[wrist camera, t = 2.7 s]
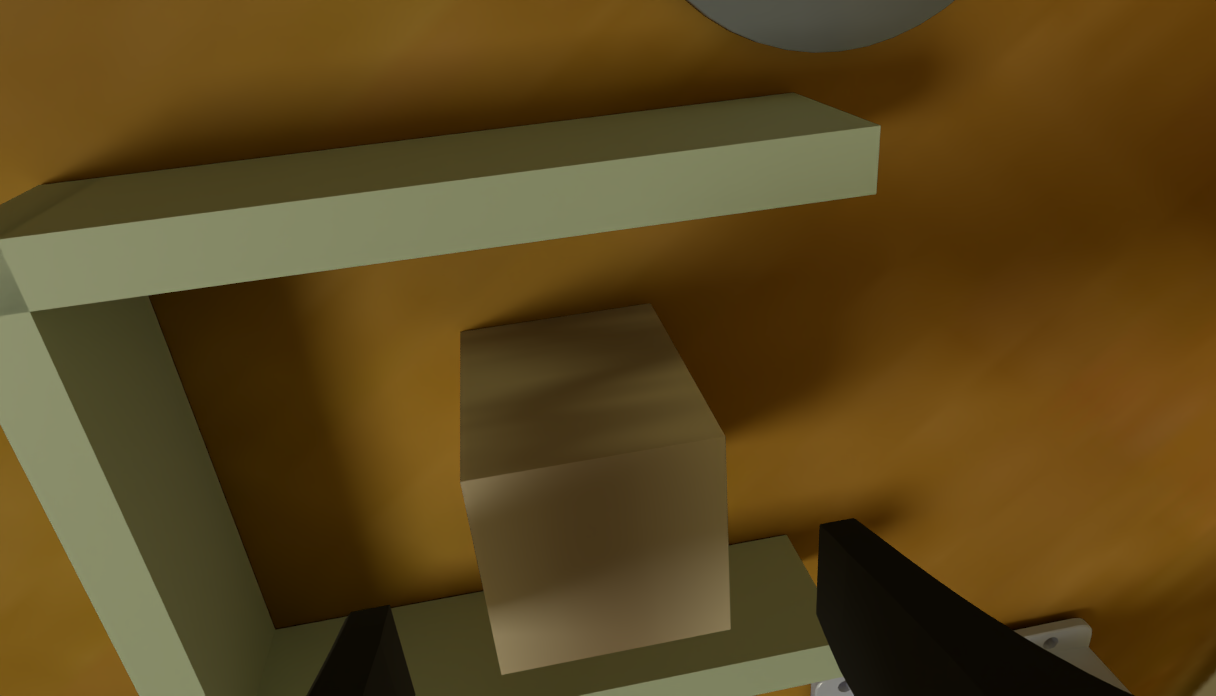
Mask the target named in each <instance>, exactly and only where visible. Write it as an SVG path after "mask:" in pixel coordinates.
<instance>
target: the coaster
mask: <svg viewBox="0 0 1216 696" xmlns="http://www.w3.org/2000/svg"><path fill="white" fill-rule="evenodd" d="M686 1H687V2H688V3H689V4H690V5H692V6H693V7H694V8H695V9H696V10H698V11H699V12H700V13H701V14H702V15H704V16H705V17H707V18H708V19H710V20H711V21H713V22H715V23H716V24H718V25H720V26H721V27H723V28H724V29H726V30H728V31H730V32H732V33H735V34H737V35H739V36H742V37H744V38H746V39H749V40H751V41H754V42H758V43H762V44H766V45H770V46H774V47H777V48H781V49H785V50H793V51H803V52H813V53H814V52H837V51H845V50H850V49H855V48H860V47H866V46H869V45H872V44H875V43H878V42H881V41H884V40H887V39H890V38H893V37H895V36H897V35H899V34H901V33H903V32H906V31H908V30H910V29H912V28H914V27H916V26H918V25H920V24H921V23H923V22H924V21H926V20H928V19H929V18H931V17H932V16H934V15H935V14H937V13H938V12H940V11H941V10H943V9H944V8H946V7H947V6H948V5H949V4H951V3H952V2H953V1H954V0H686Z"/></svg>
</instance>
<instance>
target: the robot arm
mask: <svg viewBox="0 0 1216 696" xmlns="http://www.w3.org/2000/svg"><path fill="white" fill-rule="evenodd" d="M816 615H817V617H818V620H819V622H820V625H821V627H822V630H823V632H824V635H825V637H826V639H827V642H828V644H829V647H830V649H831V651H832V654H833V656H834V658H835V660H836V663H837V665H838V667H839V670H840V671H841V673H842V675H843V677H840V678H835V679H830V680H825V681H821V682H816V683H811V696H1134V695H1132V694H1131V692H1130V691H1129V690H1128V689H1127V688H1126V687H1125V686H1124V685H1123V684H1122V683H1121V682H1120V681H1119V679H1118V678H1117V677H1116V676H1115V675H1114V674H1113V673H1112V672H1111V671H1110V670H1109V669H1108V667H1107V666H1106V665H1105V664H1104V663H1103V662H1102V661H1101V660H1100V659H1099V658H1098V657H1097V656H1096V654H1095V653H1094V652H1093V651H1092V650H1091V649H1090V648H1088V647H1089V643H1090V639H1091V636H1092V628H1091V627H1090V626H1089V625H1088V624H1087V623H1086V622H1085V620H1084V619H1081V618H1071V619H1066V620H1062V621H1057V622H1052V623H1047V624H1042V625H1037V626H1033V627H1028V628H1023V629H1018V630H1012V629H1010V628H1008V627H1007V626H1005V625H1004V624H1002V623H1001V622H999V621H997V620H996V619H994V618H993V617H991V616H989V615H988V614H986V613H985V612H983V611H982V610H980V609H979V608H977V607H976V606H974V605H973V604H971V603H970V602H968V601H967V600H965V599H964V598H962V597H961V596H959V595H958V594H956V593H955V592H954V591H952V590H951V589H949V588H948V587H946V586H945V585H944V584H942V583H941V582H939V581H938V580H937V579H935V578H934V577H932V576H931V575H930V574H928V573H927V572H925V571H924V570H923V569H921V568H920V567H919V566H917V565H916V564H915V563H913V562H912V561H911V560H909V559H908V558H907V557H905V556H904V555H902V554H901V553H900V552H898V551H897V550H896V549H895V548H893V547H892V546H891V545H889V544H888V543H887V542H885V541H884V540H883V539H881V538H880V537H879V536H877V535H876V534H875V533H873V532H872V531H871V530H869V529H868V528H867V527H865V526H864V525H863V524H861V523H860V522H859V521H857V520H856V519H854V518H852V519H846V520H841V521H836V522H830V523H825V524H820V530H819V554H818V578H817V603H816ZM306 696H415V691H414V687H413V684H412V680H411V677H410V673H409V670H408V667H407V663H406V660H405V656H404V653H403V649H402V646H401V642H400V639H399V635H398V632H397V628H396V625H395V621H394V618H393V614H392V611H391V607H390V605H387V606H381V607H376V608H371V609H365V610H360V611H355V612H351V613H350V614H349V615H348V617H347V618H346V619H345V621H344V623H343V625H342V627H341V629H340V631H339V634H338V636H337V638H336V640H335V642H334V644H333V646H332V648H331V650H330V652H329V654H328V656H327V658H326V659H325V661H324V663H323V665H322V667H321V669H320V671H319V673H318V675H317V677H316V678H315V680H314V682H313V684H312V686H311V688H310V690H309V691H308V693H307V695H306Z"/></svg>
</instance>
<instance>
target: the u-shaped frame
mask: <svg viewBox="0 0 1216 696" xmlns="http://www.w3.org/2000/svg"><path fill="white" fill-rule="evenodd" d="M880 128H881V126H880V125H878V124H875V123H873V122H870V121H867V120H865V119H862V118H859V117H857V116H854V115H852V114H849V113H846V112H844V111H841V110H838V109H836V108H833V107H831V106H828V105H825V104H823V103H820V102H817V101H815V100H812V99H810V98H807V97H804V96H802V95H799V94H796V93H794V92H793V93H785V94H777V95H768V96H760V97H752V98H744V99H736V100H728V101H720V102H711V103H703V104H695V105H687V106H679V107H671V108H663V109H655V110H646V111H638V112H630V113H622V114H614V115H606V116H598V117H589V118H581V119H573V120H565V121H557V122H549V123H541V124H532V125H524V126H516V127H508V128H500V129H492V130H484V131H475V132H467V133H459V134H451V135H443V136H435V137H427V138H418V139H410V140H402V141H394V142H386V143H378V144H370V145H362V146H353V147H345V148H337V149H329V150H321V151H313V152H305V153H296V154H288V155H280V156H272V157H264V158H256V159H248V160H239V161H231V162H223V163H215V164H207V165H199V166H191V167H182V168H174V169H166V170H158V171H150V172H142V173H134V174H126V175H117V176H109V177H101V178H93V179H85V180H77V181H69V182H60V183H52V184H44V185H38V186H36V187H34V188H32V189H30V190H28V191H26V192H24V193H22V194H21V195H19V196H17V197H15V198H13V199H11V200H9V201H7V202H5V203H3V204H1V205H0V425H1V426H2V428H3V430H4V432H5V434H6V436H7V438H8V440H9V442H10V444H11V446H12V448H13V450H14V452H15V454H16V456H17V458H18V460H19V462H20V464H21V466H22V467H23V469H24V471H25V473H26V475H27V477H28V479H29V481H30V483H31V485H32V487H33V489H34V491H35V493H36V495H37V497H38V499H39V501H40V503H41V505H42V507H43V508H44V510H45V512H46V514H47V516H48V518H49V520H50V522H51V524H52V526H53V528H54V530H55V532H56V534H57V536H58V538H59V540H60V542H61V544H62V546H63V548H64V549H65V551H66V553H67V555H68V557H69V559H70V561H71V563H72V565H73V567H74V569H75V571H76V573H77V575H78V577H79V579H80V581H81V583H82V585H83V587H84V589H85V591H86V592H87V594H88V596H89V598H90V600H91V602H92V604H93V606H94V608H95V610H96V612H97V614H98V616H99V618H100V620H101V622H102V624H103V626H104V628H105V630H106V632H107V633H108V635H109V637H110V639H111V641H112V643H113V645H114V647H115V649H116V651H117V653H118V655H119V657H120V659H121V661H122V663H123V665H124V667H125V669H126V671H127V673H128V674H129V676H130V678H131V680H132V682H133V684H134V686H135V688H136V690H137V692H138V694H139V696H306V695H307V693H308V691H309V690H310V688H311V686H312V684H313V682H314V680H315V678H316V677H317V675H318V673H319V671H320V669H321V667H322V665H323V663H324V661H325V659H326V658H327V656H328V654H329V652H330V650H331V648H332V646H333V644H334V642H335V640H336V638H337V636H338V634H339V631H340V629H341V627H342V625H343V623H344V621H345V619H346V618H347V617H348V616H347V617H341V618H336V619H331V620H325V621H320V622H314V623H309V624H304V625H298V626H293V627H288V628H282V629H277V630H275V628H274V625H273V622H272V620H271V617H270V615H269V612H268V609H267V607H266V604H265V601H264V599H263V596H262V593H261V591H260V588H259V586H258V583H257V580H256V578H255V575H254V572H253V570H252V567H251V565H250V562H249V559H248V557H247V554H246V551H245V549H244V546H243V544H242V541H241V538H240V536H239V533H238V530H237V528H236V525H235V522H234V520H233V517H232V515H231V512H230V509H229V507H228V504H227V501H226V499H225V496H224V494H223V491H222V488H221V486H220V483H219V480H218V478H217V475H216V473H215V470H214V467H213V465H212V462H211V459H210V457H209V454H208V451H207V449H206V446H205V444H204V441H203V438H202V436H201V433H200V430H199V428H198V425H197V423H196V420H195V417H194V415H193V412H192V409H191V407H190V404H189V402H188V399H187V396H186V394H185V391H184V388H183V386H182V383H181V381H180V378H179V375H178V373H177V370H176V367H175V365H174V362H173V359H172V357H171V354H170V352H169V349H168V346H167V344H166V341H165V338H164V336H163V333H162V331H161V328H160V325H159V323H158V320H157V317H156V315H155V312H154V310H153V307H152V304H151V302H150V299H149V296H148V295H154V294H161V293H168V292H176V291H183V290H190V289H197V288H204V287H212V286H219V285H226V284H233V283H240V282H247V281H255V280H262V279H269V278H276V277H283V276H291V275H298V274H305V273H312V272H319V271H327V270H334V269H341V268H348V267H355V266H363V265H370V264H377V263H384V262H391V261H399V260H406V259H413V258H420V257H427V256H435V255H442V254H449V253H456V252H463V251H470V250H478V249H485V248H492V247H499V246H506V245H514V244H521V243H528V242H535V241H542V240H550V239H557V238H564V237H571V236H578V235H586V234H593V233H600V232H607V231H614V230H622V229H629V228H636V227H643V226H650V225H657V224H665V223H672V222H679V221H686V220H693V219H701V218H708V217H715V216H722V215H729V214H737V213H744V212H751V211H758V210H765V209H773V208H780V207H787V206H794V205H801V204H809V203H816V202H823V201H830V200H837V199H845V198H852V197H859V196H866V195H873V194H876V190H877V175H878V159H879V144H880ZM728 551H729V587H730V624H731V629H730V630H725V631H720V632H715V633H710V634H705V635H700V636H695V637H690V638H685V639H680V640H675V641H670V642H665V643H660V644H655V645H650V646H645V647H640V648H635V649H630V650H625V651H619V652H614V653H609V654H604V655H599V656H594V657H589V658H584V659H579V660H574V661H569V662H564V663H559V664H554V665H549V666H544V667H539V668H534V669H529V670H524V671H519V672H514V673H509V674H504V675H501V670H500V666H499V661H498V656H497V652H496V647H495V642H494V638H493V633H492V628H491V623H490V619H489V614H488V609H487V605H486V600H485V595H484V591H481V592H476V593H471V594H465V595H460V596H454V597H449V598H444V599H438V600H433V601H427V602H422V603H417V604H411V605H406V606H401V607H395V608H391V611H392V614H393V618H394V621H395V625H396V628H397V632H398V635H399V639H400V642H401V646H402V649H403V653H404V656H405V660H406V663H407V667H408V670H409V673H410V677H411V680H412V684H413V687H414V691H415V696H753V695H758V694H763V693H768V692H772V691H777V690H782V689H787V688H792V687H796V686H801V685H806V684H811V683H816V682H821V681H825V680H830V679H835V678H840V677H843V675H842V673H841V671H840V670H839V667H838V665H837V663H836V660H835V658H834V656H833V654H832V651H831V649H830V647H829V644H828V642H827V639H826V637H825V635H824V632H823V630H822V627H821V625H820V622H819V620H818V617H817V615H816V603H817V587H816V585H815V584H814V582H813V580H812V578H811V577H810V575H809V573H808V571H807V570H806V568H805V566H804V564H803V563H802V561H801V559H800V557H799V555H798V554H797V552H796V550H795V548H794V547H793V545H792V543H791V541H790V540H789V538H788V536H787V535H783V536H777V537H772V538H767V539H761V540H756V541H750V542H745V543H740V544H734V545H729V546H728Z"/></svg>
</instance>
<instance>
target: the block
mask: <svg viewBox="0 0 1216 696" xmlns="http://www.w3.org/2000/svg"><path fill="white" fill-rule="evenodd" d="M460 483H461V487H462V492H463V497H464V501H465V506H466V511H467V516H468V520H469V525H470V530H471V534H472V539H473V544H474V548H475V553H476V558H477V562H478V567H479V572H480V577H481V581H482V586H483V591H484V595H485V600H486V605H487V609H488V614H489V619H490V623H491V628H492V633H493V638H494V642H495V647H496V652H497V656H498V661H499V666H500V670H501V675H504V674H509V673H514V672H519V671H524V670H529V669H534V668H539V667H544V666H549V665H554V664H559V663H564V662H569V661H574V660H579V659H584V658H589V657H594V656H599V655H604V654H609V653H614V652H619V651H625V650H630V649H635V648H640V647H645V646H650V645H655V644H660V643H665V642H670V641H675V640H680V639H685V638H690V637H695V636H700V635H705V634H710V633H715V632H720V631H725V630H730V629H731V624H730V587H729V551H728V514H727V477H726V441H725V435H724V433H723V431H722V429H721V428H720V426H719V424H718V422H717V421H716V419H715V417H714V415H713V413H712V412H711V410H710V408H709V406H708V405H707V403H706V401H705V399H704V397H703V396H702V394H701V392H700V390H699V389H698V387H697V385H696V383H695V381H694V380H693V378H692V376H691V374H690V373H689V371H688V369H687V367H686V365H685V364H684V362H683V360H682V358H681V356H680V355H679V353H678V351H677V349H676V348H675V346H674V344H673V342H672V340H671V339H670V337H669V335H668V333H667V332H666V330H665V328H664V326H663V324H662V323H661V321H660V319H659V317H658V316H657V314H656V312H655V310H654V308H653V307H652V305H651V303H649V304H642V305H635V306H629V307H622V308H615V309H609V310H602V311H595V312H589V313H582V314H575V315H569V316H562V317H556V318H549V319H542V320H536V321H529V322H522V323H516V324H509V325H502V326H496V327H489V328H482V329H476V330H469V331H463V332H460Z"/></svg>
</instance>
